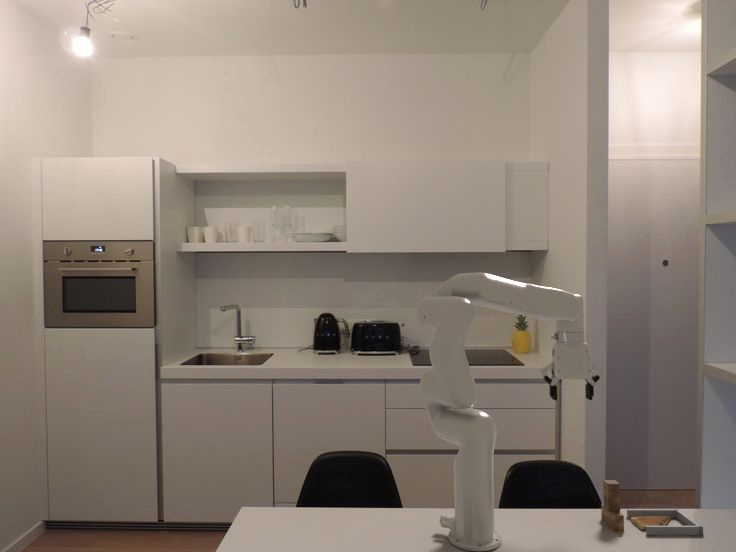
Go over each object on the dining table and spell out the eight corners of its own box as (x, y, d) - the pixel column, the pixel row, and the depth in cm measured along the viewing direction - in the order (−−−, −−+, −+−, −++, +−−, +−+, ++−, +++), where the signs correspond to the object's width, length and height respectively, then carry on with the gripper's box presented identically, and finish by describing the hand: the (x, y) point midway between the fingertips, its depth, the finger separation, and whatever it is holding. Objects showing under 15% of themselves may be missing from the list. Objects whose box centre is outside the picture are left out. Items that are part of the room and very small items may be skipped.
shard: (670, 521, 146) (670, 514, 146) (687, 533, 138) (687, 526, 138) (629, 522, 146) (629, 515, 146) (643, 534, 138) (643, 527, 138)
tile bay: (647, 535, 137) (647, 526, 137) (627, 516, 148) (626, 509, 148) (703, 535, 136) (702, 526, 136) (678, 516, 148) (677, 509, 148)
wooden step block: (613, 531, 139) (611, 487, 139) (600, 518, 147) (599, 477, 147) (625, 531, 139) (623, 487, 139) (612, 518, 147) (610, 476, 147)
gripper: (542, 339, 152) (544, 402, 151) (606, 338, 152) (608, 401, 151) (535, 337, 160) (536, 397, 159) (595, 336, 159) (597, 396, 158)
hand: (571, 399), depth 155 cm, fingers open, 9 cm apart
